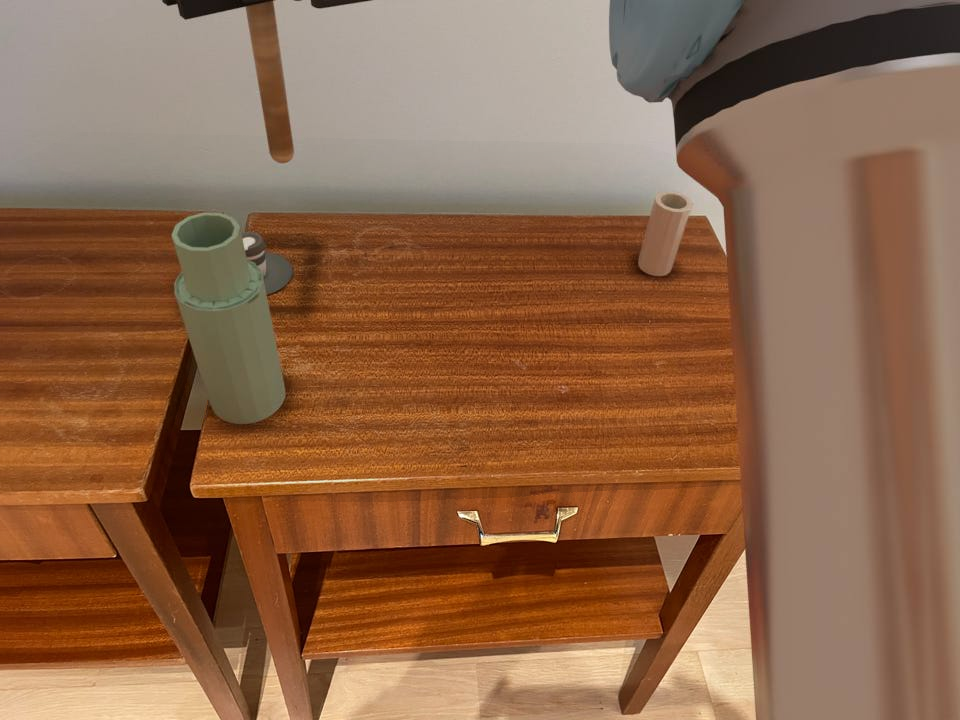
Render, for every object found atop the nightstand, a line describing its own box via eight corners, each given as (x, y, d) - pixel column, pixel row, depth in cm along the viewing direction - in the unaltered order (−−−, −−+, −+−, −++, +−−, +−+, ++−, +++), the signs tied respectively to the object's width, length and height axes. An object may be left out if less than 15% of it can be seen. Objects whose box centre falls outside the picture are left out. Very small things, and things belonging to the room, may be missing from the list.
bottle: (253, 435, 65) (209, 270, 52) (194, 405, 67) (137, 239, 54) (300, 387, 70) (271, 222, 56) (244, 360, 72) (202, 195, 58)
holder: (665, 280, 84) (686, 215, 78) (633, 268, 85) (650, 204, 79) (675, 262, 87) (696, 197, 80) (644, 251, 88) (662, 186, 81)
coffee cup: (314, 243, 85) (310, 207, 82) (303, 312, 77) (297, 276, 73) (209, 241, 84) (200, 205, 81) (186, 312, 76) (174, 275, 72)
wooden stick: (304, 161, 56) (262, -170, 41) (273, 172, 54) (218, -166, 39) (292, 151, 56) (246, -177, 41) (261, 161, 55) (203, -173, 40)
